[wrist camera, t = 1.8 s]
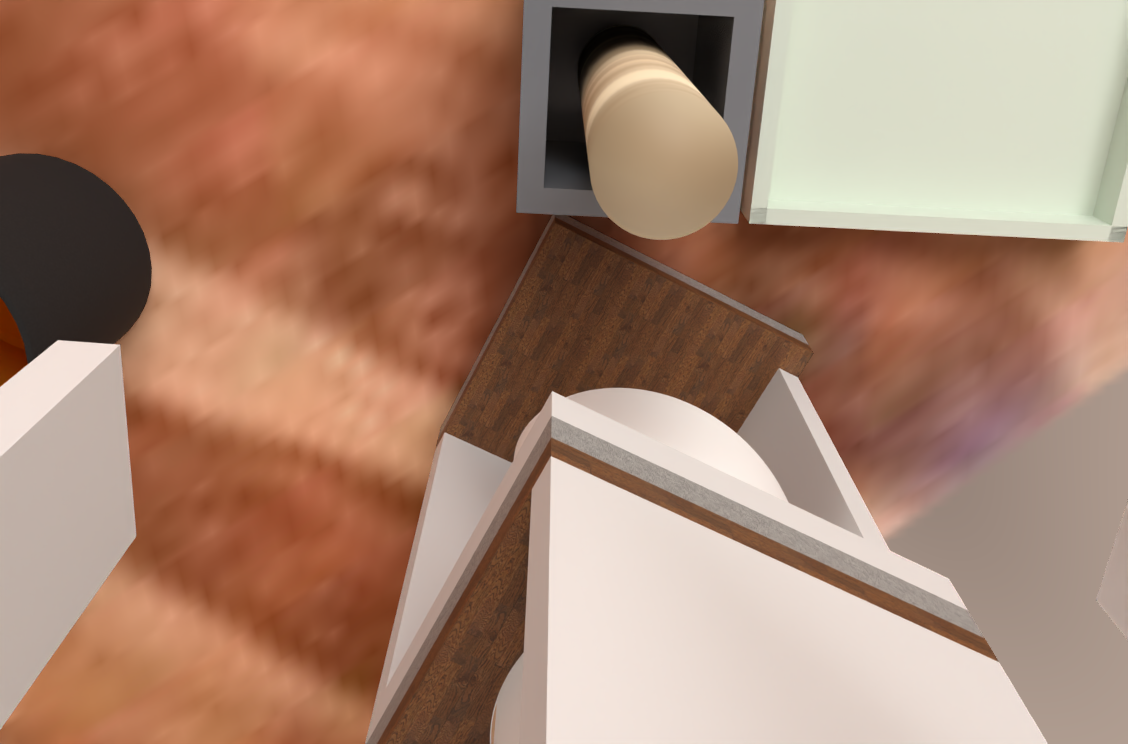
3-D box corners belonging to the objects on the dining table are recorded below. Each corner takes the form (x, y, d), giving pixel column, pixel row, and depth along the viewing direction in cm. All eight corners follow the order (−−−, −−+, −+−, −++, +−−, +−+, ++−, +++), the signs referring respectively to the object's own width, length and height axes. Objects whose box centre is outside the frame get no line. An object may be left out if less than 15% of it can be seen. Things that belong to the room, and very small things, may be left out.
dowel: (579, 22, 38) (594, 87, 22) (669, 27, 38) (746, 96, 22) (575, 114, 39) (585, 236, 24) (661, 118, 39) (729, 243, 24)
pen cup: (532, -35, 38) (524, -25, 30) (721, -25, 38) (765, -12, 30) (525, 154, 41) (516, 212, 33) (702, 164, 41) (738, 223, 33)
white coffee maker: (802, 334, 44) (1492, 1484, 11) (674, 534, 47) (921, 1838, 15) (555, 209, 42) (538, 1175, 9) (440, 427, 45) (143, 1671, 13)
